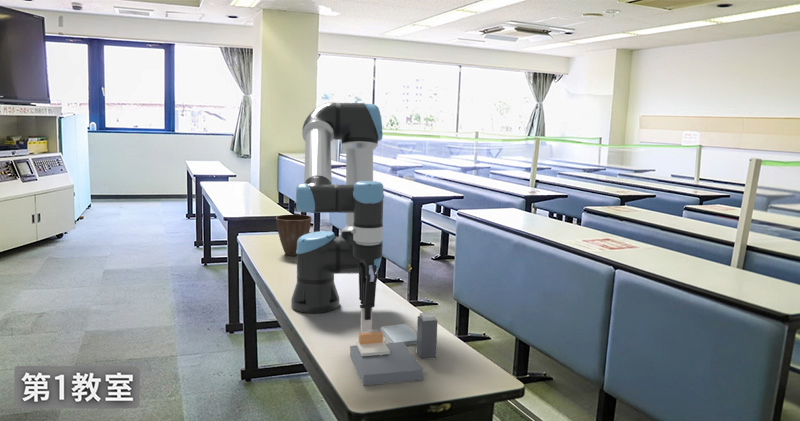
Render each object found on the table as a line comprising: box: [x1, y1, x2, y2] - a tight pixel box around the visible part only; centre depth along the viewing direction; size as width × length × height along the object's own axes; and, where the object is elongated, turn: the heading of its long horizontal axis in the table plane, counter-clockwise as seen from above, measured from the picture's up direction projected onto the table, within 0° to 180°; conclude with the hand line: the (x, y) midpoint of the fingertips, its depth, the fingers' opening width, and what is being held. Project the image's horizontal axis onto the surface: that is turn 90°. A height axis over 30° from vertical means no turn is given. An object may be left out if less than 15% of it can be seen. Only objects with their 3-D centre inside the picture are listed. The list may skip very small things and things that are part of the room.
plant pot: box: [275, 214, 312, 257], centre depth 250 cm, size 15×15×16 cm
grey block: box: [416, 311, 438, 360], centre depth 149 cm, size 4×4×11 cm
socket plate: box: [349, 342, 424, 386], centre depth 143 cm, size 17×14×2 cm
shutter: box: [355, 330, 390, 357], centre depth 146 cm, size 7×7×3 cm
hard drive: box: [379, 323, 417, 346], centre depth 163 cm, size 2×8×12 cm
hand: (366, 329), depth 154 cm, fingers closed
